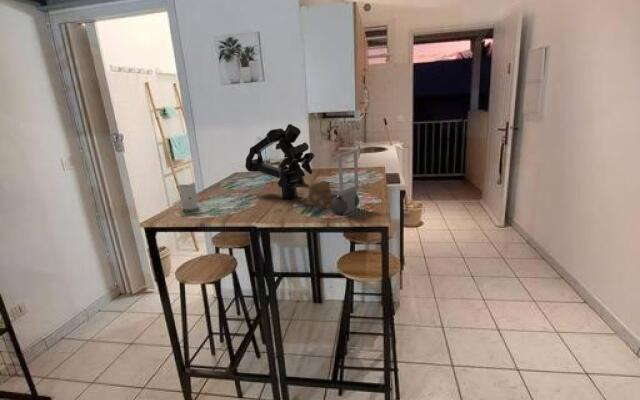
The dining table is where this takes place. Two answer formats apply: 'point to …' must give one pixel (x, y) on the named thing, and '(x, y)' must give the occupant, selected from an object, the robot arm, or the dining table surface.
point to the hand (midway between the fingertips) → (308, 174)
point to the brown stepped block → (319, 195)
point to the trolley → (345, 189)
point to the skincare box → (188, 195)
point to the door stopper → (300, 180)
